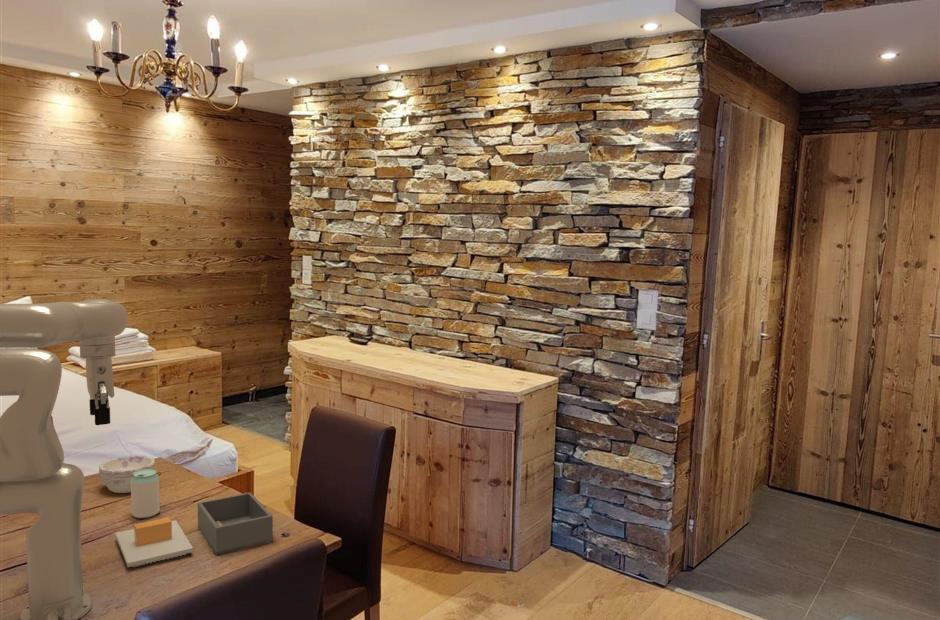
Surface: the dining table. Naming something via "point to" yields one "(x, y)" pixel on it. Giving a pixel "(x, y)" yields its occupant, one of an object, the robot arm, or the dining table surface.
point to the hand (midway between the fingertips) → (100, 419)
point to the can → (145, 494)
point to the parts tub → (234, 523)
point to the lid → (153, 542)
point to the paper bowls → (123, 472)
